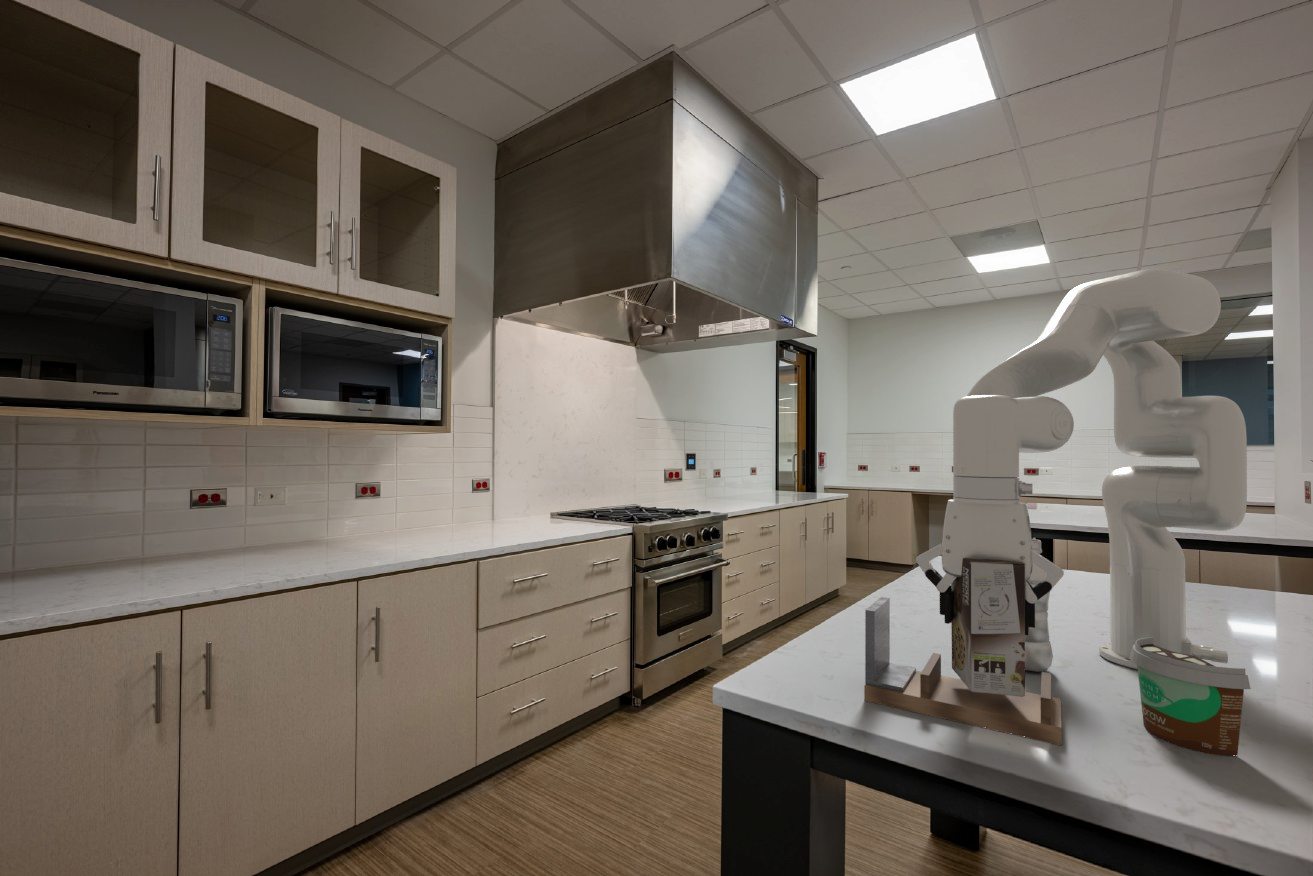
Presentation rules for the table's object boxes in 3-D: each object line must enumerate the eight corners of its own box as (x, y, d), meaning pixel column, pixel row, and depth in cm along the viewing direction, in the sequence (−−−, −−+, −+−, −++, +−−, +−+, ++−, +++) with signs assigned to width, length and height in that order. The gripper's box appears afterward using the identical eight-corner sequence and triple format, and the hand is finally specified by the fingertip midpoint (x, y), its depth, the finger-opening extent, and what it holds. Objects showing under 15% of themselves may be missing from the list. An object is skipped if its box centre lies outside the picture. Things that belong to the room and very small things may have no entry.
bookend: (915, 671, 86) (915, 601, 87) (902, 692, 79) (902, 615, 79) (881, 665, 89) (881, 597, 89) (865, 684, 82) (865, 609, 82)
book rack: (1060, 714, 77) (1060, 674, 78) (1061, 745, 69) (1061, 701, 69) (881, 677, 89) (881, 643, 90) (864, 700, 81) (864, 663, 81)
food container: (1105, 715, 77) (1104, 636, 78) (1149, 714, 78) (1148, 636, 78) (1199, 765, 65) (1198, 671, 65) (1251, 763, 66) (1250, 670, 66)
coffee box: (1028, 698, 73) (1027, 563, 73) (969, 693, 74) (969, 560, 74) (1001, 671, 82) (1000, 551, 82) (949, 667, 83) (949, 549, 83)
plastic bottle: (1049, 665, 96) (1048, 538, 96) (1056, 679, 89) (1055, 544, 90) (1002, 659, 98) (1001, 535, 99) (1006, 672, 92) (1005, 541, 93)
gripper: (1066, 492, 77) (1066, 631, 76) (918, 487, 86) (918, 610, 86) (1067, 495, 70) (1068, 647, 70) (908, 489, 80) (908, 622, 80)
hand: (986, 626), depth 78 cm, fingers closed on coffee box, 8 cm apart
